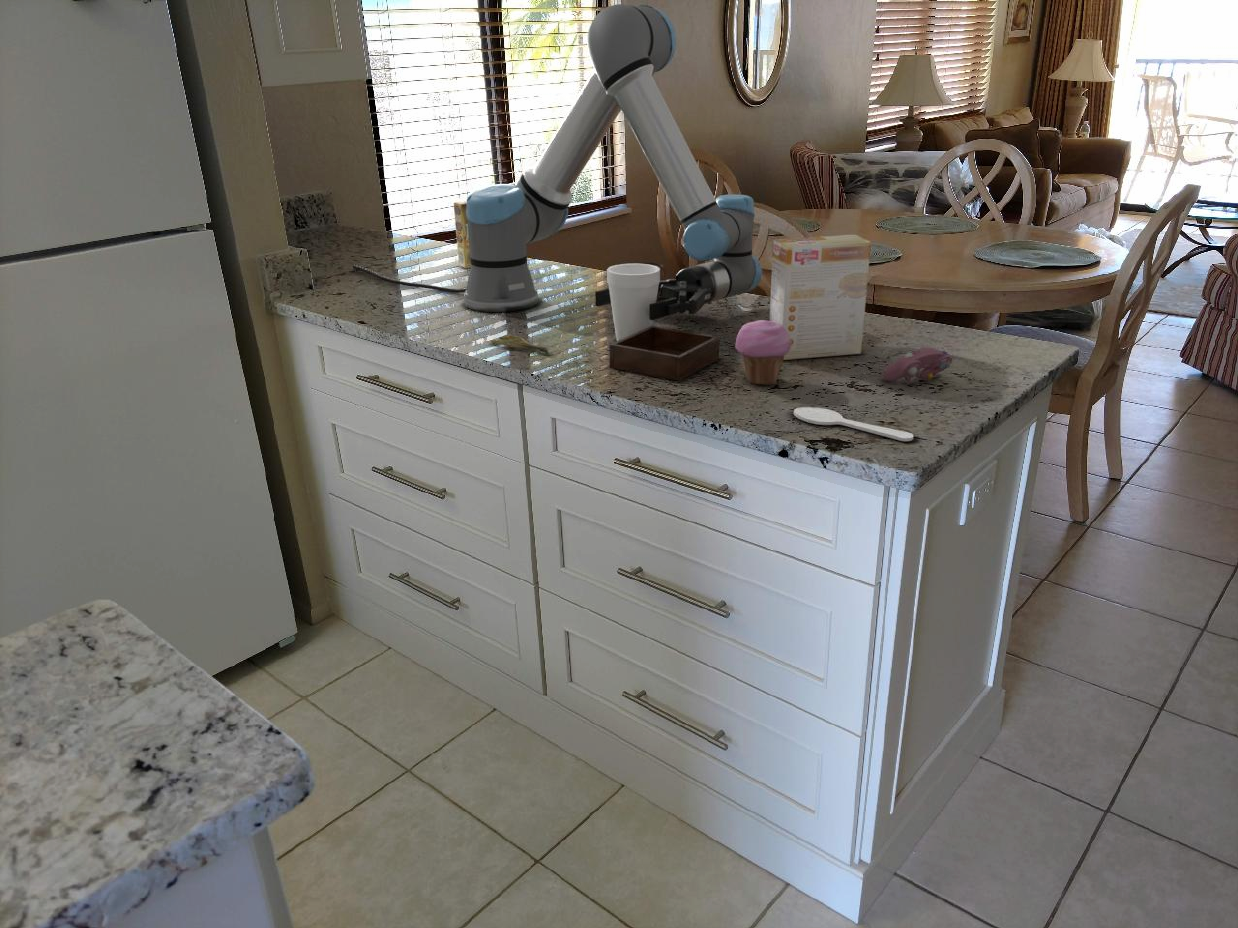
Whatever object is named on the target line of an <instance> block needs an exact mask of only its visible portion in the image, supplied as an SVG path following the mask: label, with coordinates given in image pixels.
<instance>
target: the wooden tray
mask: <svg viewBox="0 0 1238 928" xmlns="http://www.w3.org/2000/svg"><path fill="white" fill-rule="evenodd" d="M720 339H721V336H718V335H713V334H712V335H711V334H705V333H700V332H699V333H698V332H693V331H689V330H688V331H687V330H680V329H675V328H674V329H673V328H669V327H663V326H657V325H653V326H650V327H648V328H645V329H643V330H641V331H639V332H637V333H634V334H632V335H630V336H628V337H625V338H623V339H621V340H619V341H617V340H616V341H614V342H612V343H610V344H609V345H608V346H609V368H611V369H616V370H619V371H621V370H622V371H624V372H625V371H626V372H631V373H637V374H641V375H647V376H652V377H656V378H661V379H667V380H672V381H675V382H681V381H683V380H684V379H686V378H688V377H689V376H692V375H694V374H695V373H698V372H699V371H700V370H702V369H704V368H706V367H708V366H710V365H712V364H713V363H715V362H717V361H719V360H720V342H721V341H720Z"/></svg>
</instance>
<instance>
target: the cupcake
mask: <svg viewBox="0 0 1238 928" xmlns="http://www.w3.org/2000/svg"><path fill="white" fill-rule="evenodd" d="M734 347H735V349H736V351H737V352H739V353H740V354H741V358H742V360H743V366H744V374H745V377H746V380H747V381H748V382H749V383H751V384H757V385H766V386H772V385H774V384H776V383H777V380H778V378H779V375H780V371H781V369H782V366H783V362H784V360H783V359H784V355H786V354H787V353H788V352H789V350H790V348H791V341H790V336H789V334H788V332H787V330H786V329H785V328H783V326H782V325H781V324H779V323H776V322H772V321H769V320H766V319H760V320H759V319H758V320H755V321H751V322H746V323H745V324H743V325H742V326H741V328H740V329H739V331H738V333H737V335H736V340H735V346H734Z"/></svg>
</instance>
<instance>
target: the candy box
mask: <svg viewBox="0 0 1238 928" xmlns="http://www.w3.org/2000/svg"><path fill="white" fill-rule="evenodd" d="M466 210H467V200H466V201H456V202H453V212H454V223H455V236H456V247H457V258H458V266H459V267H461V268H463V269H469V268H471V260H470V248H469V235H468V222H467V216H466Z"/></svg>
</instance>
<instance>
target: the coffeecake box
mask: <svg viewBox="0 0 1238 928" xmlns="http://www.w3.org/2000/svg"><path fill="white" fill-rule="evenodd" d="M772 245H773V246H772V258H771V259H772V260H771V278H770V279H771V282H770V285H771V286H770V303H769V319H768V321H772V322H776V323H779V324H781V325H782V326H783V328H785V329H786V330H787V332H788V334H789V336H790V341H791V348H790V350H789V352H788V353H787V354H786V355H784V359H783V361H788V360H790V361H791V360H800V359H812V358H825V357H836V356H837V357H839V356H848V355H849V356H850V355H861V354H862V348H863V347H862V346H863V338H864V337H863V336H864V323H865V316H866V315H865V314H866V305H867V303H866V302H867V292H868V280H869V270H870V269H869V268H870V259H871V247H872V241H870V240H868V239H865V238H863V237H861V236H860V235H857V234H843V235H841V234H840V235H827V236H813V237H812V236H811V237H796V238H795V237H794V238H780V239H773V243H772Z"/></svg>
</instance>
